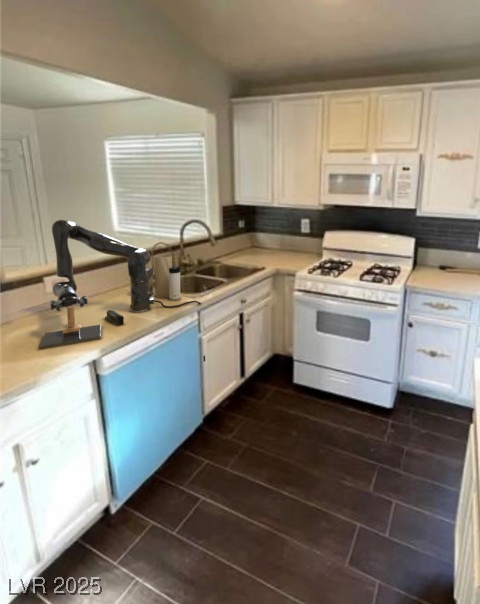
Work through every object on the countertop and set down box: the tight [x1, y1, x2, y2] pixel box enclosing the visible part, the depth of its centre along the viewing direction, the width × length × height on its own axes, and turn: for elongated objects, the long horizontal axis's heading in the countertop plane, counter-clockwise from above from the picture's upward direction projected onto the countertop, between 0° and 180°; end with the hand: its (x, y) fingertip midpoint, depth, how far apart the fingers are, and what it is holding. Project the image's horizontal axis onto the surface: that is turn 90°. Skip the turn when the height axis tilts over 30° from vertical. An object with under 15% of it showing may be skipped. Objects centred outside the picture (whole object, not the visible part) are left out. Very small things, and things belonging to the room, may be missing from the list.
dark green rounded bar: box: [104, 309, 125, 326], centre depth 179 cm, size 5×3×15 cm
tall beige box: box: [153, 253, 173, 299], centre depth 219 cm, size 10×10×25 cm
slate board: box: [39, 324, 102, 350], centre depth 160 cm, size 22×14×2 cm, turn 119°
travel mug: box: [168, 266, 181, 301], centre depth 213 cm, size 6×7×20 cm
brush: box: [62, 305, 81, 337], centre depth 159 cm, size 6×4×13 cm
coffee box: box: [145, 267, 154, 296], centre depth 219 cm, size 9×6×16 cm
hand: (70, 307), depth 161 cm, fingers open, 8 cm apart
